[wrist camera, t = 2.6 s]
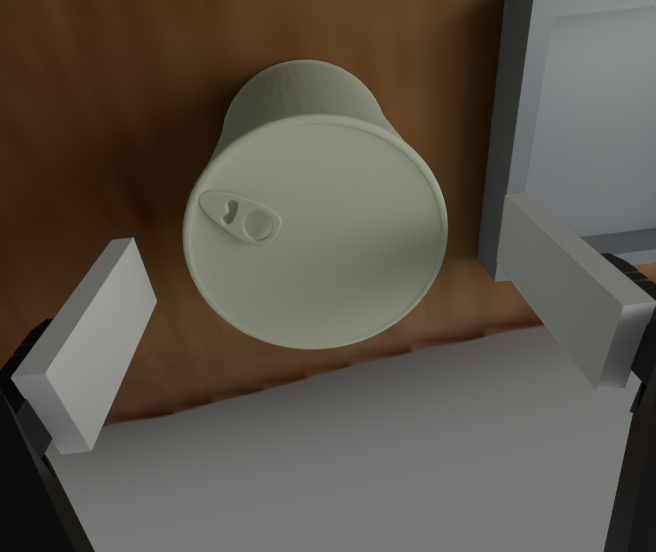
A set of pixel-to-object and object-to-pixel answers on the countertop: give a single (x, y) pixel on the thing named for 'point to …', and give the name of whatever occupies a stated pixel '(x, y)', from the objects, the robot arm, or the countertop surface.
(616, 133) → the drawer
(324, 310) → the can
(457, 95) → the countertop surface
